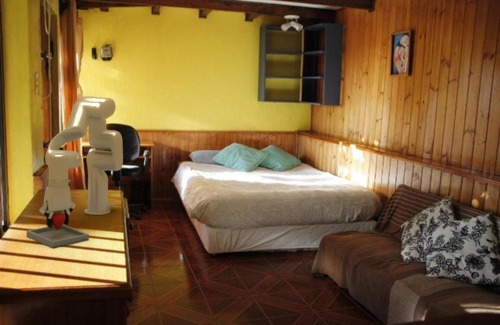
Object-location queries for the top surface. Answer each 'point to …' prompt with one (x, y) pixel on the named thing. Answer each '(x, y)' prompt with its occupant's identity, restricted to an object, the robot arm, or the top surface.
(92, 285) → the top surface
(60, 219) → the strawberry
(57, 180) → the robot arm
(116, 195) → the top surface
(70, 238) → the tray
